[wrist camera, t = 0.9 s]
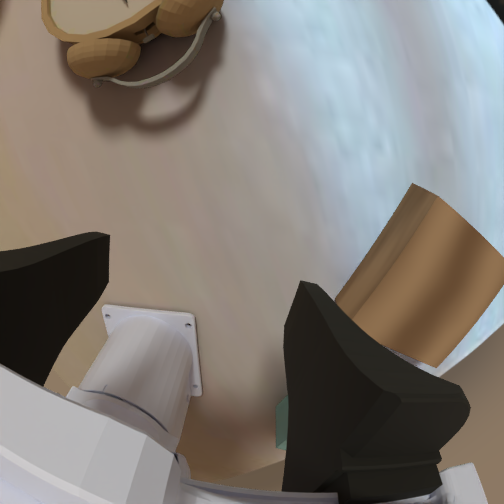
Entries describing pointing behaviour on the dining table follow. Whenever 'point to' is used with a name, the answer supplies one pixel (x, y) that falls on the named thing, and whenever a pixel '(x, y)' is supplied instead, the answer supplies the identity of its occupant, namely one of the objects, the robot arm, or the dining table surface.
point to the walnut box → (423, 280)
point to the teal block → (282, 424)
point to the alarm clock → (125, 33)
